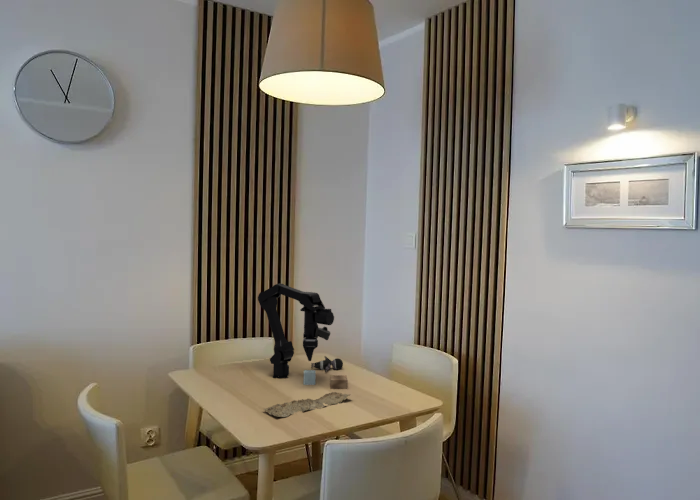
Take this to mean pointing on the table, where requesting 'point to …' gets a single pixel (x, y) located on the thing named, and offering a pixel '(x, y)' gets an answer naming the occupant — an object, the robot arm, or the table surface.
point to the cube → (309, 377)
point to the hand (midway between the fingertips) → (309, 358)
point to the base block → (338, 381)
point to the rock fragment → (305, 404)
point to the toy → (328, 364)
